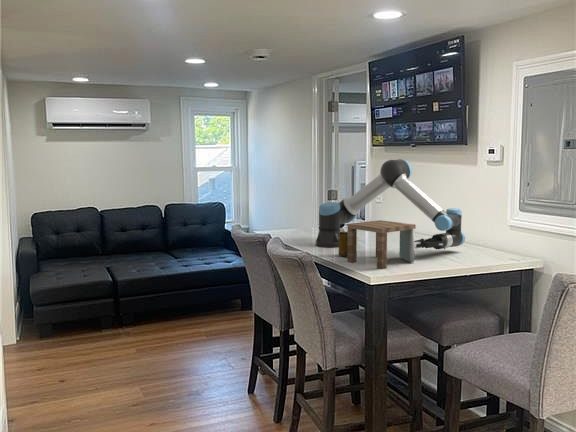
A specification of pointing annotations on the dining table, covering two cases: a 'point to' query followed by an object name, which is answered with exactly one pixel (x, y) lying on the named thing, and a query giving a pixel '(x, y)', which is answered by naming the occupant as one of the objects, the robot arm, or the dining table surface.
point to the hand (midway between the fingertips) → (410, 246)
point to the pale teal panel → (407, 245)
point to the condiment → (343, 244)
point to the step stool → (381, 238)
